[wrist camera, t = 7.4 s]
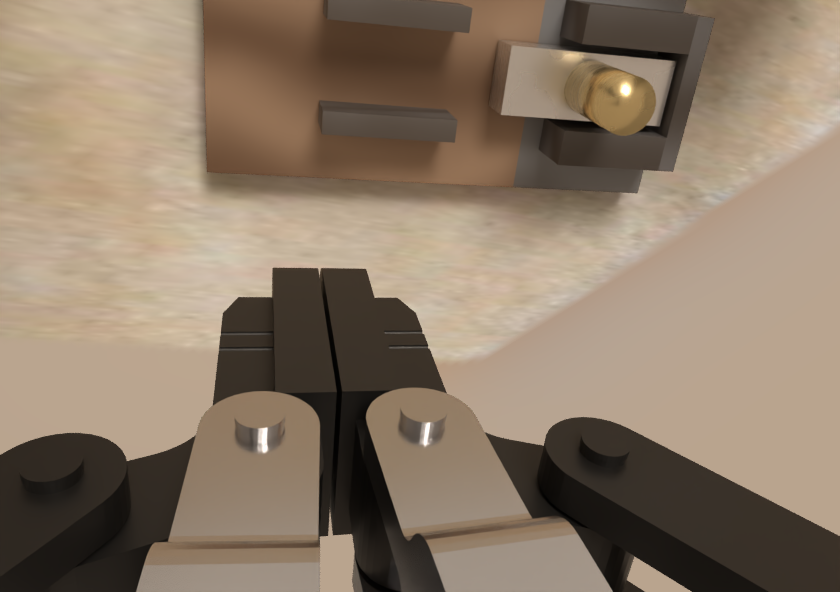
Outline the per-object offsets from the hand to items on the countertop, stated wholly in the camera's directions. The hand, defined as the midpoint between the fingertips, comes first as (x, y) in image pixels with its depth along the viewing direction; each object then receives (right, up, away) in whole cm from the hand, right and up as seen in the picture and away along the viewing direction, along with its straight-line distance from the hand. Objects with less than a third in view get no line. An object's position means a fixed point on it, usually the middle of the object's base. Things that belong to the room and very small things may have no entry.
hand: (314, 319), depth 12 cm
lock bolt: (+9, +11, +22) cm, 26 cm away
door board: (+3, +12, +22) cm, 25 cm away
